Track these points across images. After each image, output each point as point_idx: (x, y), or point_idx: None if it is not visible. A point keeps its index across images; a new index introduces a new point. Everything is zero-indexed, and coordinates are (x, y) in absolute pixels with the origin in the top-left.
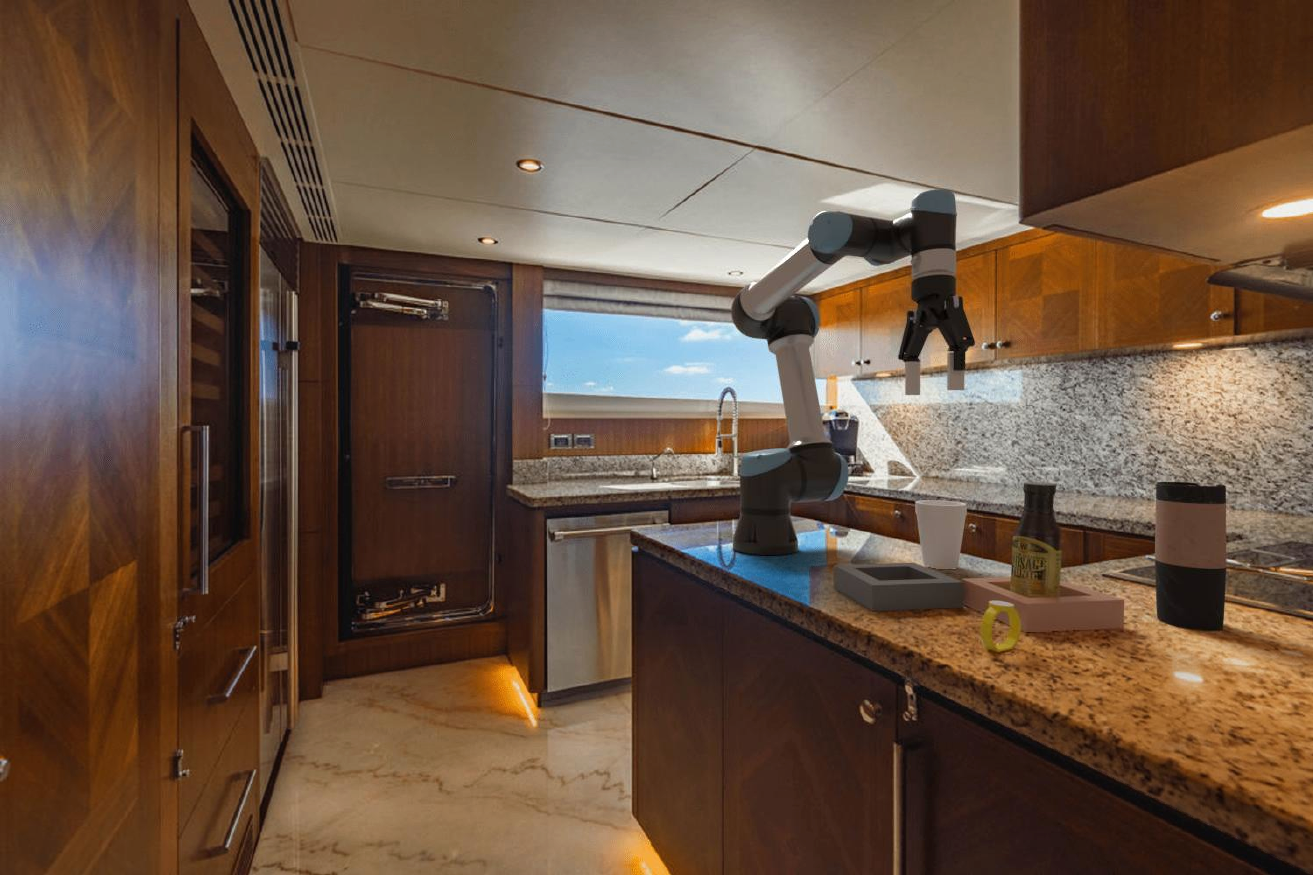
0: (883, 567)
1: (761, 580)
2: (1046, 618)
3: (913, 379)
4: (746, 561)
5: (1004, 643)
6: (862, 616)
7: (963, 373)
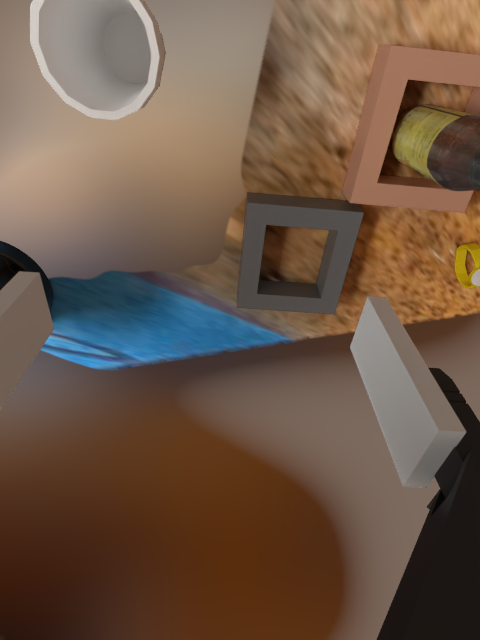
0: (261, 258)
1: (191, 346)
2: None
3: (10, 352)
4: (91, 332)
5: (459, 250)
6: (338, 314)
7: (410, 346)
